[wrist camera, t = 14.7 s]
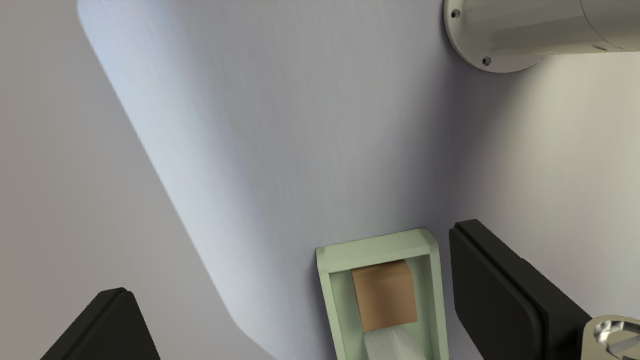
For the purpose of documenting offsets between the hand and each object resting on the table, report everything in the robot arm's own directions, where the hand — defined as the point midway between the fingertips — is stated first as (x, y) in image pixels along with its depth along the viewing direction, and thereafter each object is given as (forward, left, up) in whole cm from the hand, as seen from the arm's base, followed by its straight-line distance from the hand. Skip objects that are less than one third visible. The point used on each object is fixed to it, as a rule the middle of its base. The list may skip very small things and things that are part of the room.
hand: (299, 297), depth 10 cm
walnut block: (-6, +19, -28) cm, 34 cm away
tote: (-6, +24, -28) cm, 38 cm away
